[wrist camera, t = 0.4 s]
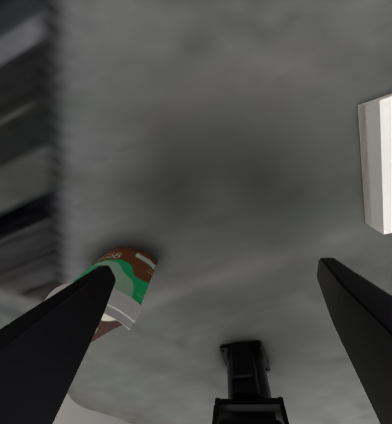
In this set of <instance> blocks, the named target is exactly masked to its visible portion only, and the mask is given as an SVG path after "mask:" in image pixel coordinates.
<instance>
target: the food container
mask: <svg viewBox="0 0 392 424" xmlns="http://www.w3.org/2000/svg"><path fill="white" fill-rule="evenodd" d="M101 265H108V266H110V268H111V270H112V272H113V274H114V276H115V278H116V281H115V285H114V287H113V290H112V293H111V296H110V298H109V301H108V304H107V307H106V309H105V312H104V314H103V317H102V319H101V321H100V323H99V325H98V327H97V330H96V332H95V334H94V336H93V338H92V340H91V342H92V341H94V340H96V339H97V338H99V337H101V336H102V335H104V334H105V333H107V332H109V331H111V330H113V329H115V328H117V327H119V326H121V325H124V326H125V327H126V328H127V329H129V330H130V329H131V327H132V325H133V323H135V322H136V320H137V319H138V317H139V315H140V313H141V312H142V310H143V307H142V306H141V303H142V300H143V298H144V295H145V293H146V290H147V287H148V285H149V282H150V280H151V277H152V275H153V272H154V270H155V267H156V265H157V262H156V261H155V260H154V259H153V258H152V257H151V256H149V255H148V254H146V253H144V252H143V251H141V250H137V249H134V248H131V247H118V248H115V249H112V250H110V251H108V252H107V253H106V254H105V255H104V256H102V257H101V258H100V259H99V260H98V261H97V262H95V263H94V264H93V265H92V266H91V267H90V268H88V269H87V270H86V271H85V272H84V273H83V274H81V275H80V276H79V277H78V278H77V279H76V280H78V279H79V278H81V277H82V276H84V275H86V274H87V273H89V272H90V271H92V270H93V269H95V268H96V267H98V266H101ZM76 280H75V281H76ZM75 281H73V282H75ZM73 282H71V283H67V284H63V285H61V286H59V287H57V288H55V289H54V290H53V291H52V292H50V294H49V295H48V296H47V298H46V299H45V300H47V299H48V298H50V297H51V296H53V295H54V294H56V293H58V292H59V291H61V290H62V289H64V288H65V287H67V286H68V285H70V284H72V283H73ZM91 342H90V343H91Z"/></svg>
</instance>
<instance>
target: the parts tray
mask: <svg viewBox="0 0 392 424" xmlns="http://www.w3.org/2000/svg"><path fill="white" fill-rule="evenodd" d="M357 106H358V121H359V137H360V152H361V168H362V183H363V198H364V214H365V224H367V225H369V226H370V227H372V228H374V229H375V230H377V231H379V232H380V233H382V234H388V233H392V93H391V94H388V95H385V96H382V97H380V98H377V99H374V100H371V101H368V102H366V103H363V104H360V105H357Z"/></svg>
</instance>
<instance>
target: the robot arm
mask: <svg viewBox="0 0 392 424" xmlns="http://www.w3.org/2000/svg"><path fill="white" fill-rule="evenodd" d="M317 278H318V282H319V285H320V287H321V290H322V293H323V296H324V299H325V302H326V305H327V308H328V310H329V313H330V316H331V319H332V321H333V324H334V326H335V328H336V330H337V333H338V335H339V337H340V339H341V341H342V343H343V345H344V347H345V349H346V352H347V354H348V356H349V358H350V360H351V362H352V364H353V366H354V368H355V371H356V373H357V375H358V377H359V379H360V381H361V383H362V385H363V387H364V390H365V392H366V394H367V396H368V398H369V400H370V402H371V404H372V407H373V409H374V411H375V413H376V415H377V417H378V419H379V421H380V423H381V424H392V295H390V294H389V293H387V292H385V291H384V290H382V289H381V288H379V287H378V286H376V285H375V284H373V283H372V282H370V281H368V280H367V279H365V278H364V277H362V276H361V275H359V274H358V273H356V272H354V271H353V270H351V269H350V268H348V267H347V266H345V265H344V264H342V263H341V262H339V261H337V260H336V259H334V258H321V259H320V260H319V264H318V271H317ZM115 281H116V278H115V276H114V274H113V272H112V270H111V268H110V266H108V265H101V266H98V267H96V268H95V269H93V270H92V271H90V272H89V273H87V274H86V275H84V276H82V277H81V278H79V279H78V280H76V281H75V282H73V283H72V284H70V285H68V286H67V287H65V288H64V289H62V290H61V291H59V292H58V293H56V294H54V295H53V296H51V297H50V298H48V299H47V300H45V301H44V302H42V303H40V304H39V305H37V306H36V307H34V308H33V309H31V310H29V311H28V312H26V313H25V314H23V315H22V316H20V317H19V318H17V319H15V320H14V321H12V322H11V323H10V324H8V325H6V326H4V327H3V328H1V329H0V424H52V423H53V421H54V419H55V417H56V415H57V413H58V411H59V409H60V407H61V404H62V402H63V400H64V398H65V396H66V394H67V392H68V389H69V387H70V385H71V383H72V381H73V379H74V377H75V375H76V372H77V370H78V368H79V366H80V364H81V362H82V360H83V357H84V355H85V353H86V351H87V349H88V347H89V345H90V342H91V340H92V338H93V336H94V334H95V332H96V330H97V327H98V325H99V323H100V321H101V319H102V317H103V314H104V312H105V309H106V307H107V304H108V301H109V298H110V296H111V293H112V290H113V287H114V285H115ZM220 352H221V354H222V356H223V358H224V361H225V363H226V365H227V375H228V399H220V398H216V399H215V405H214V411H213V421H212V424H289V422H288V418H287V414H286V410H285V406H284V402H283V398H282V397H278V398H272V397H271V392H270V388H269V383H268V378H267V373H266V372H267V371H270V367H269V364H268V361H267V358H266V355H265V352H264V349H263V346H262V343H261V342H259V341H256V342H248V343H240V344H232V345H224V346H220Z"/></svg>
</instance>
